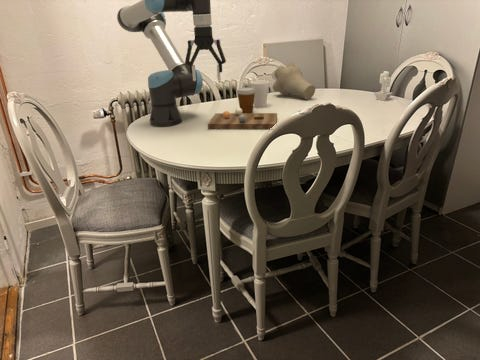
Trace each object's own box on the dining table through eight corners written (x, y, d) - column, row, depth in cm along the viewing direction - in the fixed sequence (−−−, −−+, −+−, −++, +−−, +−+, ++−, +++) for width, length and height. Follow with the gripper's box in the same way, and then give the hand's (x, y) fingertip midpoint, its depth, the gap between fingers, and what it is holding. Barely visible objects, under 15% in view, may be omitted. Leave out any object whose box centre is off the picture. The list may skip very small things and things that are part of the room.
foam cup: (249, 107, 190) (248, 83, 184) (254, 103, 197) (254, 80, 192) (265, 108, 186) (265, 83, 181) (271, 104, 194) (271, 80, 189)
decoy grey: (237, 123, 155) (237, 115, 154) (238, 120, 158) (238, 113, 157) (245, 123, 155) (245, 115, 153) (246, 120, 158) (246, 113, 157)
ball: (222, 119, 162) (221, 112, 160) (223, 117, 165) (223, 110, 163) (229, 119, 161) (229, 112, 160) (230, 117, 164) (230, 110, 163)
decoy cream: (234, 115, 167) (234, 108, 165) (236, 113, 170) (235, 106, 168) (242, 115, 166) (241, 108, 165) (242, 113, 169) (242, 106, 168)
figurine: (393, 98, 196) (397, 70, 189) (384, 101, 190) (388, 73, 184) (380, 97, 201) (384, 69, 194) (372, 100, 195) (375, 72, 189)
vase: (333, 75, 196) (299, 59, 214) (306, 73, 183) (273, 56, 201) (319, 111, 207) (288, 93, 224) (293, 112, 194) (263, 92, 212)
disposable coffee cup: (254, 115, 176) (253, 90, 171) (235, 114, 178) (234, 90, 173) (257, 110, 184) (256, 87, 179) (239, 110, 186) (238, 87, 181)
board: (208, 129, 157) (207, 123, 156) (215, 118, 173) (215, 113, 172) (275, 129, 153) (275, 123, 152) (277, 118, 169) (277, 113, 168)
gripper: (173, 27, 146) (179, 82, 155) (228, 25, 143) (231, 81, 152) (178, 26, 152) (184, 79, 162) (231, 24, 149) (233, 78, 159)
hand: (206, 80), depth 157 cm, fingers open, 10 cm apart
